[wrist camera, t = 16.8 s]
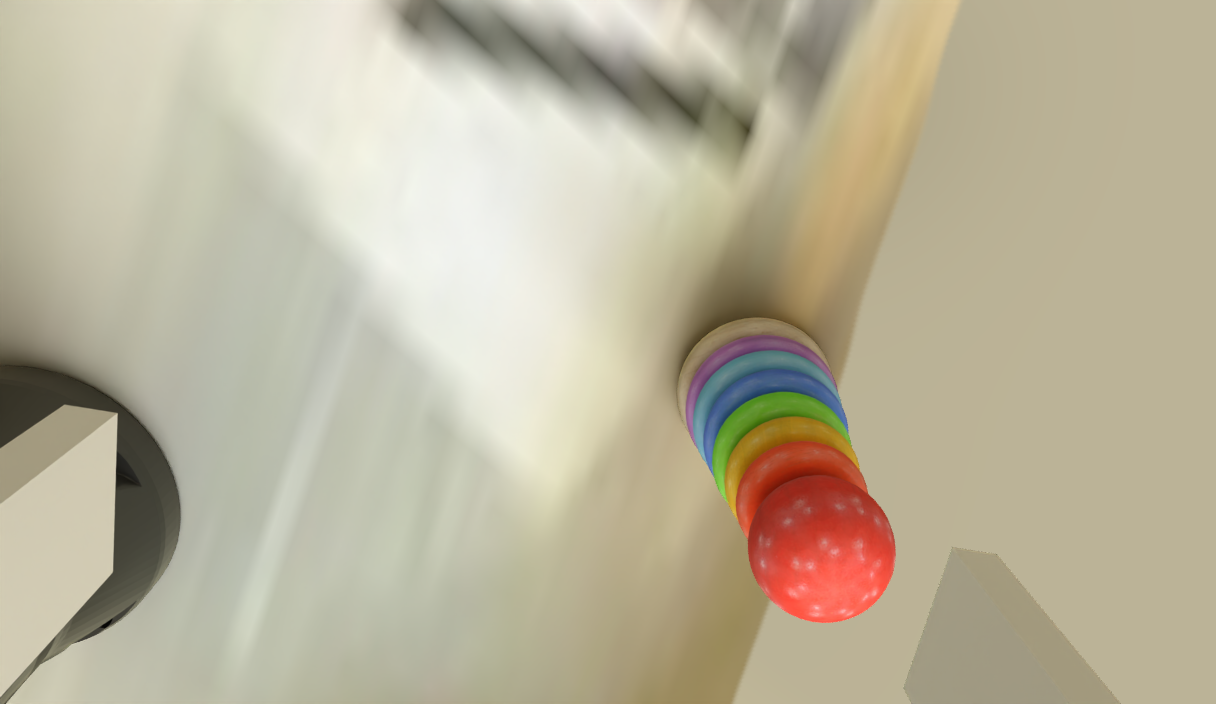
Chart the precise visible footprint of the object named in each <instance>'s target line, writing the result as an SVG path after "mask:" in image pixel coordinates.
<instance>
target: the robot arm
mask: <svg viewBox="0 0 1216 704" xmlns="http://www.w3.org/2000/svg"><path fill="white" fill-rule="evenodd" d="M179 529H180V505H179V498H178V493H177V489H176V485H175V482H174V479H173V476H172V473H171V471H170V468H169V466H168V464H167V462H166V460H165V458H164V456H163V454H162V453H161V451H160V449H159V448H158V446H157V445H156V443H155V442H154V440H153V439H152V438H151V436H150V435H149V434H148V433H147V431H146V430H145V429H144V428H143V427H142V426H141V425H140V424H139V423H138V421H137V420H135V419H134V418H133V417H132V416H131V415H130V414H129V413H128V412H127V411H126V410H124V409H123V408H122V407H121V406H120V405H118V404H117V403H116V402H114V401H113V400H111V399H110V398H108V397H107V396H105V395H104V394H102V393H101V392H99V391H97V390H95V389H93V388H92V387H90V386H88V385H86V384H84V383H82V382H79V381H77V380H74V379H72V378H70V377H67V376H64V375H61V374H58V373H54V372H50V371H47V370H42V369H37V368H31V367H23V366H0V704H6V703H7V702H8V700H9V699H10V698H11V697H12V696H13V695H14V693H15V692H16V691H17V690H18V689H19V687H20V686H21V685H22V684H23V683H24V682H25V681H26V680H27V678H28V677H29V676H30V675H31V674H32V673H33V672H34V671H35V669H36V668H37V667H38V666H39V665H40V664H42V663H43V662H45V661H47V660H49V659H51V658H53V657H54V656H56V655H58V654H59V653H61V652H63V651H64V650H65V649H67V648H68V647H69V646H70V645H71V644H73V643H76V642H80V641H83V640H85V639H88V638H90V637H92V636H94V635H97V634H99V633H101V632H102V631H104V630H106V629H108V628H110V627H111V626H113V625H114V624H116V623H117V622H119V621H120V620H121V619H123V618H124V617H125V616H126V615H128V614H129V613H130V612H131V611H132V610H133V609H134V608H135V607H136V606H137V605H138V604H139V603H140V602H141V601H142V600H143V599H144V597H145V596H146V595H147V594H148V592H149V591H150V590H151V589H152V587H153V586H154V585H155V584H156V582H157V581H158V580H159V579H160V577H161V576H162V575H163V573H164V571H165V570H166V568H167V567H168V565H169V563H170V561H171V559H172V556H173V554H174V551H175V548H176V545H177V541H178V536H179ZM904 690H905V692H906V694H907V696H908V698H909V700H910V702H911V704H1121V703H1120V702H1119V701H1118V700H1117V698H1116V697H1115V696H1114V695H1113V694H1112V692H1111V691H1110V690H1109V689H1108V688H1107V686H1106V685H1105V684H1104V683H1103V682H1102V680H1101V679H1100V678H1099V677H1098V675H1097V674H1096V673H1095V672H1094V671H1093V669H1092V668H1091V667H1090V666H1089V665H1088V664H1087V662H1086V661H1085V660H1084V659H1083V658H1082V656H1081V655H1080V654H1079V653H1078V651H1077V650H1076V649H1075V648H1074V647H1073V645H1072V644H1071V643H1070V642H1069V641H1068V639H1067V638H1066V637H1065V636H1064V634H1063V633H1062V632H1061V631H1060V630H1059V628H1058V627H1057V626H1056V625H1055V624H1054V622H1053V621H1052V620H1051V619H1050V618H1049V616H1048V615H1047V614H1046V613H1045V612H1044V610H1043V609H1042V608H1041V607H1040V606H1039V605H1038V603H1037V602H1036V601H1035V600H1034V598H1033V597H1032V596H1031V595H1030V593H1028V591H1027V590H1026V589H1025V588H1024V586H1023V585H1022V584H1021V583H1020V581H1019V580H1018V579H1017V578H1016V577H1015V575H1014V574H1013V573H1012V572H1011V571H1010V569H1009V568H1008V567H1007V566H1006V565H1005V564H1004V562H1003V561H1002V560H1001V559H1000V557H999V556H998V555H997V554H992V553H986V552H979V551H973V550H966V549H961V548H954V547H952V549H951V552H950V555H949V558H948V561H947V564H946V566H945V569H944V572H943V575H942V578H941V581H940V584H939V587H938V589H937V592H936V595H935V598H934V601H933V604H932V607H931V610H930V612H929V616H928V618H927V621H926V624H925V627H924V630H923V633H922V636H921V638H920V641H919V644H918V647H917V650H916V653H915V656H914V659H913V661H912V665H911V667H910V670H909V673H908V676H907V679H906V682H905V684H904Z"/></svg>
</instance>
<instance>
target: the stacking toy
mask: <svg viewBox="0 0 1216 704" xmlns="http://www.w3.org/2000/svg"><path fill="white" fill-rule="evenodd" d="M677 400H678V407H679V412H680V415H681V418H682V421H683V423H684V425H685V427H686V429H687V431H688V432H689V434H690V436H691V438H692V440H693V442H694V444H695V446H696V447H697V449H698V450H699V453H700V454H701V456H702V458H703V459H704V461H705V462H706V464H707V465H708V467H709V469H710V471H711V473H712V475H713V476H714V478H715V481H716V484H717V487H718V489H719V491H720V493H721V494H722V496H723V497H724V499H725V500H726V501H727V502H728V504H729V507H730V509H731V511H732V512H733V514H734V516H735V517H736V518H737V520H738V522H739V524H740V526H741V529H742V531H743V533H744V534H745V536H746V537H747V539H748V554H749V561H750V565H751V569H752V571H753V574H754V577H755V579H756V581H757V583H758V584H759V586H760V587H761V589H762V590H763V592H764V593H765V594H766V595H767V596H768V597H769V598H770V600H771V601H773V602H774V603H775V604H776V605H777V606H778V607H780V608H781V609H782V610H784V611H786V612H787V613H789V614H791V615H793V616H796V617H798V618H800V619H804V620H808V621H812V622H821V623H830V622H838V621H842V620H846V619H849V618H852V617H854V616H857V615H859V614H860V613H862V612H864V611H865V610H867V609H868V608H869V607H871V606H872V605H873V604H874V603H875V602H876V601H877V600H878V599H879V598H880V596H881V595H882V594H883V592H884V591H885V589H886V587H887V585H888V583H889V581H890V579H891V577H892V574H893V571H894V565H895V556H896V553H895V541H894V535H893V532H892V529H891V526H890V524H889V521H888V519H887V517H886V515H885V513H884V512H883V510H882V509H881V507H880V506H879V505H878V504H877V503H876V501H875V500H874V499H873V498H872V497H870V496H869V494H868V491H867V487H866V483H865V480H864V478H863V476H862V474H861V472H860V468H859V463H858V460H857V457H856V455H855V453H854V451H853V449H852V446H851V441H850V438H849V435H848V424H847V419H846V417H845V413H844V410H843V408H842V404H841V400H840V397H839V394H838V390H837V386H836V383H835V380H834V378H833V376H832V373H831V369H830V366H829V364H828V361H827V359H826V357H825V355H824V354H823V352H822V351H821V349H820V348H819V346H818V345H817V344H816V343H815V342H814V341H813V340H812V339H811V338H810V337H809V336H808V335H807V334H806V333H804V332H803V331H801V330H800V329H798V328H796V327H795V326H793V325H791V324H788V323H785V322H783V321H779V320H776V319H770V318H758V317H756V318H745V319H740V320H735V321H732V322H729V323H726V324H724V325H722V326H720V327H718V328H716V329H715V330H713V331H711V332H710V333H709V334H707V335H706V336H705V337H703V338H702V339H701V340H700V341H699V342H698V343H697V344H696V345H695V347H694V348H693V349H692V350H691V352H690V353H689V355H688V357H687V358H686V360H685V362H684V364H683V367H682V370H681V372H680V376H679V380H678V387H677Z"/></svg>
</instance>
